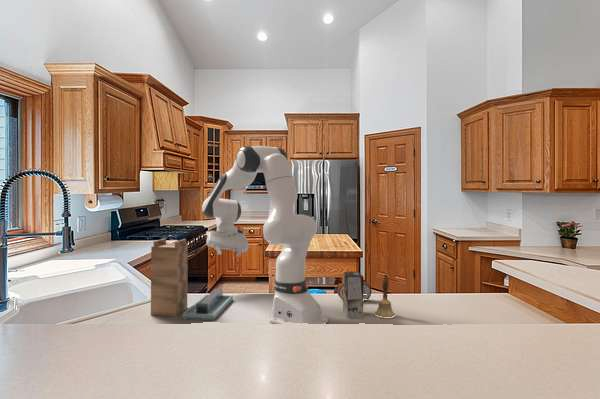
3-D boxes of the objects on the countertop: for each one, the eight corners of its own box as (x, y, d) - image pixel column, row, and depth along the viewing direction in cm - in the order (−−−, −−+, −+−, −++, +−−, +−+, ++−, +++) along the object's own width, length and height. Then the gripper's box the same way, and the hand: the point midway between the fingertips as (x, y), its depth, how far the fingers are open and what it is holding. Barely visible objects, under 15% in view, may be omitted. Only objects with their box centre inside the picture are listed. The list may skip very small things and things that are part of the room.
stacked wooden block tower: (163, 306, 139) (164, 238, 139) (187, 307, 138) (187, 238, 138) (150, 315, 129) (151, 241, 129) (176, 316, 128) (176, 242, 128)
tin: (370, 299, 153) (370, 281, 153) (371, 301, 150) (372, 282, 150) (337, 299, 153) (337, 280, 152) (338, 301, 150) (338, 282, 149)
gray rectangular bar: (214, 295, 149) (213, 286, 149) (223, 295, 149) (223, 286, 148) (196, 313, 129) (196, 303, 129) (207, 314, 129) (207, 304, 128)
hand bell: (369, 313, 136) (370, 273, 136) (386, 310, 139) (387, 271, 139) (382, 320, 128) (383, 278, 128) (400, 317, 132) (401, 276, 131)
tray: (205, 298, 150) (205, 294, 150) (232, 300, 149) (232, 295, 149) (182, 318, 126) (182, 313, 126) (213, 320, 125) (214, 315, 125)
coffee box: (363, 318, 129) (364, 276, 129) (347, 318, 129) (347, 276, 129) (357, 310, 139) (358, 271, 138) (342, 310, 138) (343, 271, 138)
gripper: (208, 225, 160) (210, 247, 150) (247, 232, 170) (252, 253, 160) (203, 234, 163) (205, 256, 153) (242, 241, 173) (246, 262, 163)
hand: (229, 254), depth 157 cm, fingers open, 8 cm apart
